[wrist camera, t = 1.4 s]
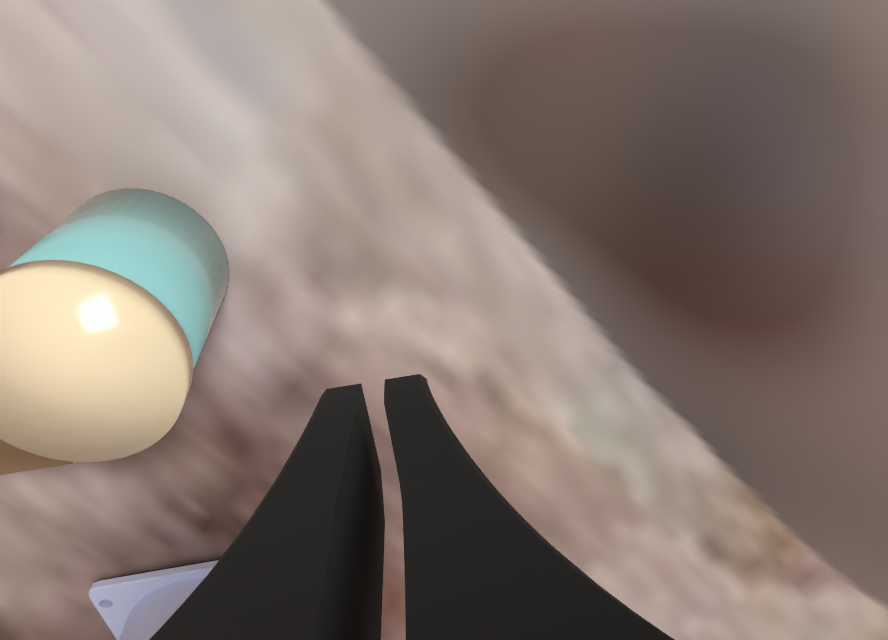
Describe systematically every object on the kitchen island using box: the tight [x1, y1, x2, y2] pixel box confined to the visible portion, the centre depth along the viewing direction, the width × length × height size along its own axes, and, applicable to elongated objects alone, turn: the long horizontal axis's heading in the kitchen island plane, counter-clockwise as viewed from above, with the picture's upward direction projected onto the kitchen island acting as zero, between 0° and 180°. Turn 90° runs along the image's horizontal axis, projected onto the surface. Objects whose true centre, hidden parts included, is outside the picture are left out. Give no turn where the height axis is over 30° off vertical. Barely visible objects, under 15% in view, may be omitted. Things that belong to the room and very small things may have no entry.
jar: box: [0, 189, 229, 462], centre depth 16 cm, size 5×5×6 cm
